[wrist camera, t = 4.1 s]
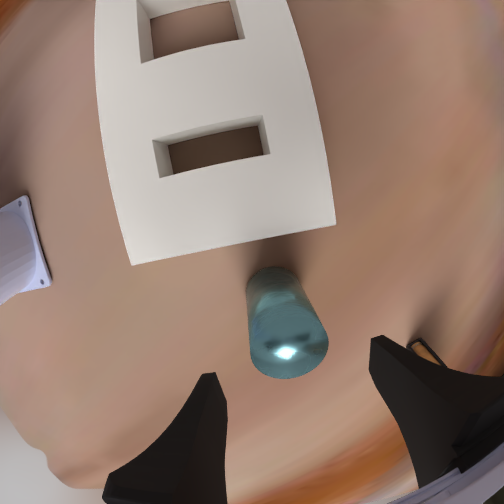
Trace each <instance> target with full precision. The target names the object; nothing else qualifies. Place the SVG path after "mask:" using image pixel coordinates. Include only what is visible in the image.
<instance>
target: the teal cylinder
mask: <svg viewBox="0 0 504 504" xmlns="http://www.w3.org/2000/svg"><path fill="white" fill-rule="evenodd" d="M246 302H247V315H248V328H249V342H250V354H251V359H252V362H253V364H254V365H255V367H256V368H257V369H258V370H259V371H260V372H262V373H263V374H265V375H267V376H270V377H273V378H279V379H289V378H295V377H299V376H302V375H304V374H306V373H308V372H310V371H311V370H313V369H314V368H316V367H317V366H318V365H319V364H320V363H321V361H322V360H323V359H324V357H325V355H326V353H327V350H328V343H329V341H328V336H327V333H326V331H325V329H324V327H323V326H322V324H321V322H320V320H319V318H318V316H317V314H316V312H315V310H314V308H313V307H312V305H311V303H310V301H309V299H308V297H307V295H306V293H305V292H304V290H303V288H302V286H301V284H300V282H299V280H298V279H297V277H296V276H295V275H294V274H293V273H292V272H291V271H289V270H288V269H285V268H282V267H268V268H264V269H262V270H260V271H258V272H257V273H256V274H255V275H253V277H252V278H251V279H250V281H249V282H248V285H247V288H246Z"/></svg>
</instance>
